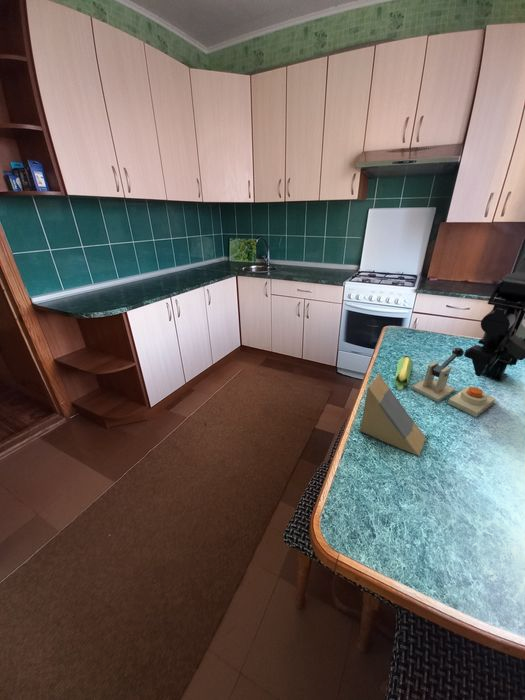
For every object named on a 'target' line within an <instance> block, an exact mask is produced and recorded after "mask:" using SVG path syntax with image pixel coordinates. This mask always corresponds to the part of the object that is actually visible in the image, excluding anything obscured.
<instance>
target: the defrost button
mask: <svg viewBox="0 0 525 700" xmlns="http://www.w3.org/2000/svg"><path fill="white" fill-rule="evenodd" d="M468 387H469V389H468V392H467V394H468V395H469V396H472V397H475V398H481V396H482V393H484V391H483V390H482V389H481V388H479V387H476V386H468Z"/></svg>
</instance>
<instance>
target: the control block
mask: <svg viewBox="0 0 525 700" xmlns="http://www.w3.org/2000/svg"><path fill="white" fill-rule="evenodd" d="M469 387H470V386H466V387H464V388H462V389H461V391H459V392H457V393H455V394H454V395H453V396H451V397H450V398H449V399H448V401H447V404H449V405H450V406H453V407H455V408H457V409H459V410H460V411H463V412H464V413H467V414H468V415H470V416H473V417H475V418H476V417H478V416H479V415H480V414H481V413H483V412H484V411H485V410H487V409H488V408H489V407H490V406H492V405H493V404H494V403H495V401H496V399H497V397H494V396H491V395H489V394H487V393H485V392H483V393H482V396H481V398H475V397H472V396H469V395H468V394H467V392H468V389H469Z"/></svg>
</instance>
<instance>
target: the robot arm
mask: <svg viewBox="0 0 525 700" xmlns="http://www.w3.org/2000/svg"><path fill="white" fill-rule="evenodd" d="M487 305H490V306H493V307H492V309H491V310H490V311H489V312H488V313H487V314H486V315H485V316H483V317H482V319H481V320H480V328H481V330H482V331H483V332H484V334H483V336H482V338H480V339H479V340H478V344H480V345H478V344H475V345H472V346H470V347H468V348H467V349H465V351H464V353H463V356H464V357H465V358H467V359H470V360H471V362H472V366H473V370H474V374H475V376H476V377H479V378H480V377H482V376H483V375H484V376H485V377H488V378H490V379H493V380H495V381H498V382H499V381H502V379H504V378H505V377H507V376H508V373H505V372H506V370H507V366H510V367H512V366H516V365H517V364H518V361H523V360H524V359H525V337H524V338H523V337H522V336H521V337H519V336H517V335H518V333H519V331H520V329H521V325H522V323H523V321H524V319H525V257H523V258H521V259H520V260H519V262H518V264H517V266H516V268H515V272H511V273H506V275H505V276H503V277H502V279H499V280H498V281H497V283H496V285H495V287H494V289H493V291H492V293H491V295H490V297H489V299H488V301H487Z"/></svg>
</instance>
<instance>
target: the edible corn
mask: <svg viewBox="0 0 525 700" xmlns="http://www.w3.org/2000/svg"><path fill="white" fill-rule="evenodd" d="M413 368H414V363H413V360H412V358H411V357H410V356H408V355H404V356H402V357H400V359H399V360H397V367H396V373H395V375H394V376H395V377H394V380H395V386H397V389H398V391H400V390H403V388H405V386H408V385H409V384H410V378H411V375H412V372H413V371H412V370H413Z"/></svg>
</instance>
